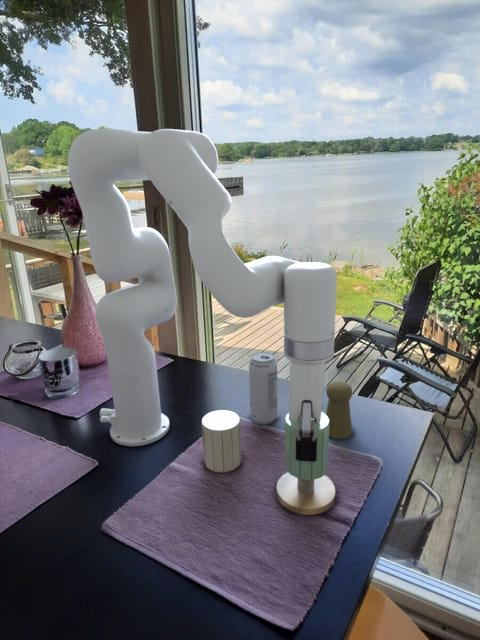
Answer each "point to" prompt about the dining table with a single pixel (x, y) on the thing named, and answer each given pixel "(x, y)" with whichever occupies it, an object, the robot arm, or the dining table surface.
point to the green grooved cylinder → (320, 466)
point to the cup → (221, 440)
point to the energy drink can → (263, 388)
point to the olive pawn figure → (339, 409)
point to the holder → (305, 494)
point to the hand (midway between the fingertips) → (306, 444)
